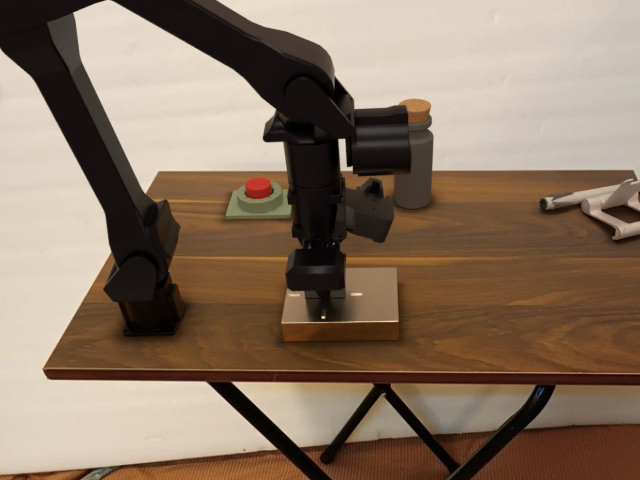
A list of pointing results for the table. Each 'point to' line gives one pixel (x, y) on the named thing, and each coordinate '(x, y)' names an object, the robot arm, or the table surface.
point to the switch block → (259, 205)
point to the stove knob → (333, 293)
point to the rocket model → (574, 197)
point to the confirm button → (258, 188)
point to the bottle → (417, 158)
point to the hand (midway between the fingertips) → (325, 292)
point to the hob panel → (346, 310)
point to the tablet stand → (620, 196)
